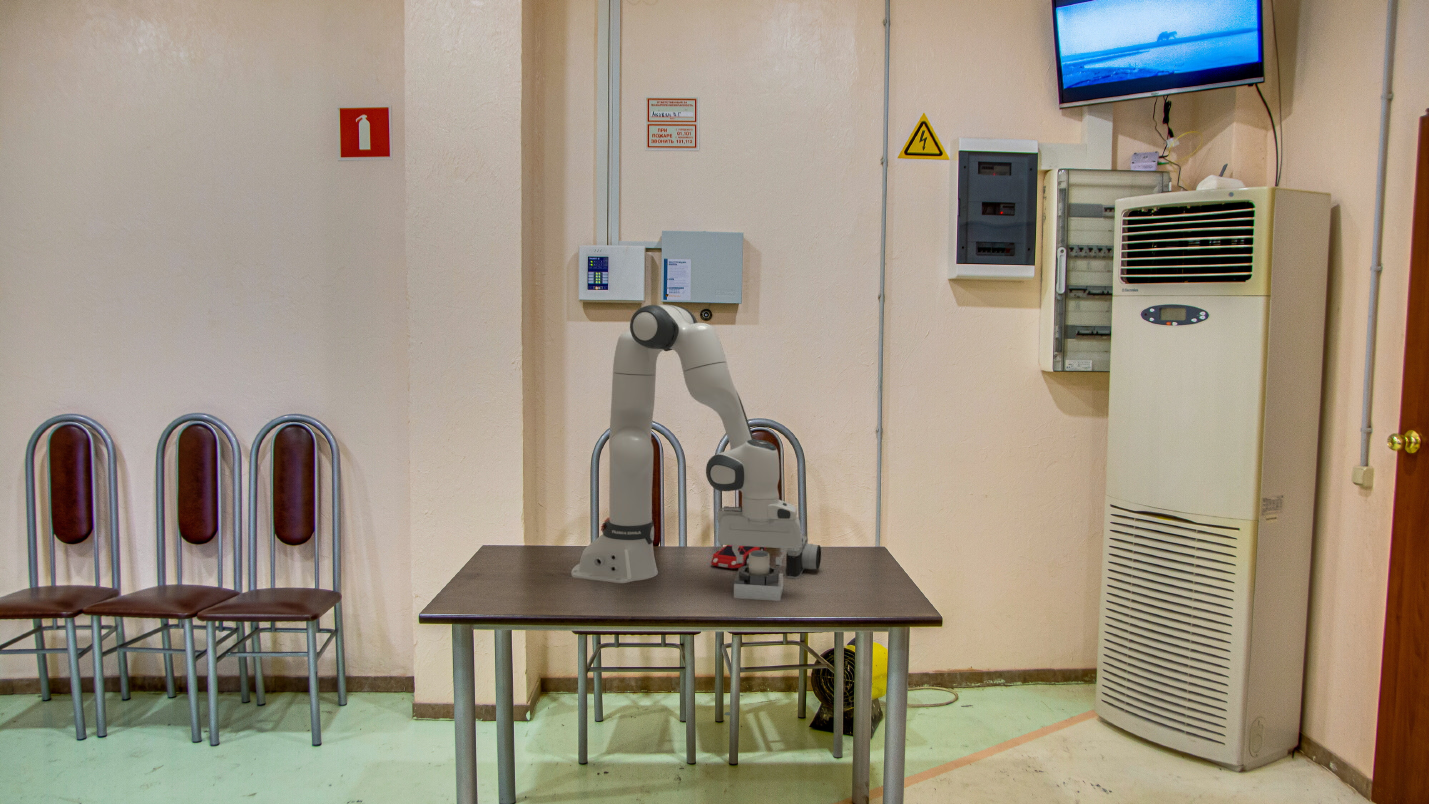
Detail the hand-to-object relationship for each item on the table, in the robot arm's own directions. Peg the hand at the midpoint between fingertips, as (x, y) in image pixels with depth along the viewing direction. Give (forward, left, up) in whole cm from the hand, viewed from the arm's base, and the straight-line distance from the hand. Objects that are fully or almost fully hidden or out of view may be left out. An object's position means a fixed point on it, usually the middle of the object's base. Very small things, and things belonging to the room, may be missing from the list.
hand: (759, 564), depth 189 cm
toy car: (-8, +27, -8) cm, 30 cm away
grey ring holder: (0, 0, -8) cm, 8 cm away
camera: (+10, +21, -8) cm, 24 cm away
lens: (0, 0, -4) cm, 4 cm away
